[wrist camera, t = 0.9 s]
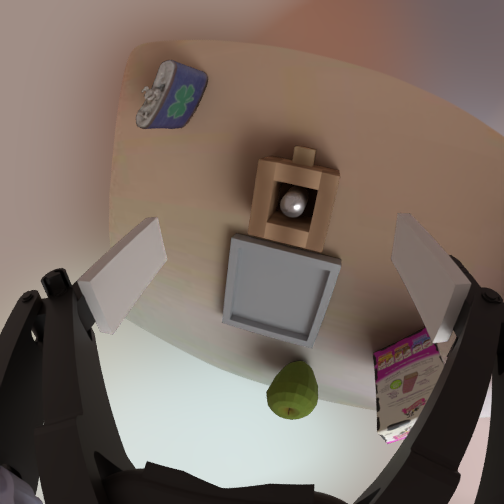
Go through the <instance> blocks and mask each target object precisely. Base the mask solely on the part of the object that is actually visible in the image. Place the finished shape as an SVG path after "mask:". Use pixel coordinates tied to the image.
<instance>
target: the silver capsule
mask: <svg viewBox="0 0 504 504" xmlns="http://www.w3.org/2000/svg"><path fill="white" fill-rule="evenodd" d="M308 199H309V193H308V191H307V189H306V188H304V187H303V186H298V185H296V186H293V187H292V188H290V190H289V191H288V192H287V193H286V194H285V195H284V197H283V198H282V199H281V202H280V208H281V210H282V212H283V213H284V214H285V215H286V216H288V217H298V216H299V215H301V214H302V213H303V211H304V209H305V206H306V204H307V201H308Z"/></svg>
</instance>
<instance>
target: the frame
mask: <svg viewBox="0 0 504 504" xmlns="http://www.w3.org/2000/svg"><path fill="white" fill-rule="evenodd" d="M315 155H316V149H312V148H307V147H302V146H295V149H294V154H293V160H290V159H285V158H279V157H274V156H268V157H265V158H262V159H259V160H258V167H257V174H256V181H255V187H254V194H253V201H252V208H251V214H250V221H249V228H248V234H249V235H253V236H257V237H261V238H265V239H269V240H273V241H278V242H282V243H286V244H290V245H294V246H298V247H302V248H306V249H310V250H314V251H317V252H321V253H322V250H323V246H324V242H325V238H326V235H327V231H328V227H329V223H330V218H331V214H332V210H333V206H334V202H335V197H336V193H337V188H338V184H339V179H340V173H339V170H335V169H331V168H326V167H322V166H318V165H314V161H315ZM281 182H285V183H289V184H294V185H298V186H303V187H307V188H312V189H316V190H318V193H317V198H316V203H315V207H314V212H313V217H312V218H311V217H307V216H303V215H299V216H298V217H288V216H286V215H285V214H284V213H283V212H282V210H277V205H278V199H279V194H280V188H281Z"/></svg>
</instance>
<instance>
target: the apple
mask: <svg viewBox="0 0 504 504" xmlns="http://www.w3.org/2000/svg"><path fill="white" fill-rule="evenodd" d="M266 393H267V402H268V406H269V407H270V409H271V410H272V411H273V412H274V413H275V414H276V415H278V416H279V417H282V418H285V419H291V420H293V419H300V418H303V417H305V416H307V415H309V414H310V413H311V412H312V411H313V409H314V408H315V406H316V405H317V400H318V385H317V382H316V379H315V376H314V372H313V370H312V368H311V367H310V366H309V365H308V364H307V363H306V362H304V361H296V362H293V363H289V364H288V365H286V366H285V367H284V368H283V369H282V370H281V371H280V372H279V373H278V374H277V375H276V377H275V378H274V380H273V382H272V383H271V385H270V387H269V389H268V390H267V392H266Z"/></svg>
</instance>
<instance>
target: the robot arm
mask: <svg viewBox="0 0 504 504" xmlns="http://www.w3.org/2000/svg"><path fill="white" fill-rule="evenodd" d="M391 260H392V262H393V263H394V265H395V267H396V269H397V271H398V273H399V274H400V276H401V278H402V280H403V282H404V284H405V286H406V288H407V290H408V292H409V294H410V296H411V298H412V300H413V302H414V304H415V306H416V308H417V310H418V312H419V314H420V316H421V318H422V321H423V323H424V325H425V327H426V329H427V332H428V334H429V336H430V338H431V341H432V343H439V342H446V341H448V340H449V338H450V336H451V333H452V331H453V330H454V332H455V334H456V336H457V337H456V339H455V341H454V343H453V345H452V347H451V349H450V351H449V353H448V355H447V357H448V358H447V361H446V363H445V365H444V367H443V370H442V372H441V374H440V376H439V378H438V380H437V383H436V385H435V387H434V389H433V391H432V393H431V395H430V397H429V398H428V400H427V402H426V404H425V406H424V408H423V410H422V411H421V413H420V415H419V417H418V418H417V420H416V422H415V424H414V425H413V427H412V428H411V430H410V432H409V433H408V435H407V436H406V438H405V440H404V441H403V443H402V444H401V446H400V447H399V449H398V450H397V452H396V453H395V454H394V456H393V457H392V459H391V460H390V462H389V463H388V464H387V466H386V467H385V468H384V470H383V471H382V472H381V473H380V475H379V476H378V477H377V479H376V480H375V481H374V482H373V483H372V484H371V485H370V486H369V487H368V488H367V489H366V491H364V493H363V494H362V495H361V496H360V497H359V498H358V499H357V500H356V501H355V502H354V503H353V504H448V502H449V501H450V499H451V497H452V496H453V494H454V492H455V490H456V488H457V486H458V484H459V481H460V476H461V475H460V473H459V472H458V467H459V465H460V462H461V460H462V458H463V456H464V454H465V451H466V449H467V447H468V444H469V442H470V440H471V437H472V434H473V432H474V430H475V427H476V424H477V422H478V419H479V416H480V413H481V410H482V407H483V404H484V401H485V397H486V394H487V390H488V387H489V383H490V379H491V375H492V405H491V420H490V430H489V437H488V445H487V451H486V457H485V463H484V467H483V472H482V477H481V481H480V485H479V489H478V493H477V496H476V499H475V503H474V504H504V303H503V299H502V298H501V296H500V295H499V294H498V293H497V292H495V291H494V290H492V289H489V288H481V287H480V285H479V284H478V283H477V282H476V280H475V279H474V278H473V277H472V275H471V274H470V273H469V272H468V271H467V269H466V268H464V266H463V265H462V263H461V262H460V261H459V260H458V259H456V258H455V257H453V256H452V255H448V254H447V253H446V252H445V250H444V249H443V248H442V247H441V246H440V245H439V244H438V243H437V241H436V240H435V239H434V238H433V237H432V236H431V235H430V234H429V233H428V232H427V230H426V229H425V228H424V227H423V226H422V225H421V224H420V223H419V222H418V221H417V220H416V219H415V218H414V217H413V216H412V215H411V214H410V213H398V215H397V223H396V230H395V237H394V244H393V250H392V256H391ZM166 261H167V256H166V252H165V248H164V244H163V239H162V235H161V230H160V226H159V221H158V217H151V218H146V219H144V220H143V221H142V222H141V223H140V224H138V225H137V226H136V227H135V228H134V229H133V230H131V231H130V232H129V233H128V234H127V235H126V236H124V237H123V238H122V239H121V240H120V241H119V242H118V243H117V244H115V245H114V246H113V247H112V248H111V249H110V250H109V251H108V252H107V253H105V255H103V256H102V257H101V258H100V259H99V260H98V261H97V262H96V263H95V264H94V265H93V266H92V267H91V268H89V269H88V270H87V271H86V272H85V273H84V274H83V275H82V276H81V277H80V278H79V279H78V280H77V281H76V282H75V283H74V284H73V285H71V282H70V280H69V277H68V275H67V273H66V270H65V269H63V268H59V269H55V270H53V271H51V272H49V273H47V274H46V275H45V276H44V277H43V278H42V279H41V283H42V285H43V287H44V289H45V292H46V293H47V296H48V298H44V299H41V297H40V295H39V293H38V291H37V290H31V291H27V292H26V293H24V294H23V295H22V296H21V297H20V298H19V300H18V301H17V303H16V305H15V307H14V309H13V310H12V312H11V314H10V316H9V318H8V320H7V322H6V324H5V326H4V328H3V330H2V332H1V334H0V504H43V503H42V501H41V500H40V499H39V498H38V497H36V496H35V495H36V491H37V486H38V480H39V477H40V482H41V487H42V491H43V496H44V500H45V504H348V503H346V502H344V501H342V500H340V499H338V498H336V497H334V496H331V495H328V494H324V493H321V492H316V491H314V484H310V485H307V484H306V485H296V484H265V485H257V486H249V487H239V488H220V487H218V486H215V485H213V484H211V483H208V482H206V481H204V480H201V479H199V478H197V477H195V476H193V475H191V474H188V473H186V472H184V471H181V470H177V469H173V468H169V467H165V466H162V465H158V464H155V463H151V462H148V461H147V463H146V465H145V468H144V469H136V468H135V467H134V465H133V464H132V463H131V461H130V460H129V458H128V457H127V455H126V453H125V450H124V447H123V444H122V442H121V439H120V436H119V433H118V430H117V427H116V424H115V420H114V417H113V414H112V411H111V407H110V403H109V399H108V396H107V392H106V388H105V384H104V379H103V375H102V371H101V366H100V361H99V356H98V351H97V345H96V340H95V334H94V332H93V330H92V328H91V327H92V326H93V324H94V323H95V322H96V324H97V326H98V328H99V330H100V332H103V333H108V334H114V333H115V331H116V330H117V328H118V327H119V325H120V324H121V322H122V321H123V319H124V318H125V317H126V315H127V314H128V312H129V311H130V310H131V308H132V307H133V305H134V304H135V302H136V301H137V300H138V298H139V297H140V296H141V294H142V293H143V291H144V290H145V289H146V287H147V286H148V285H149V283H150V282H151V281H152V279H153V278H154V276H155V275H156V274H157V272H158V271H159V270H160V269H161V267H162V266H163V265H164V263H165V262H166ZM31 330H32V331H33V333H34V335H35V336H36V340H35V341H34V340H33V337H32V333H31ZM43 424H44V425H43Z"/></svg>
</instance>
